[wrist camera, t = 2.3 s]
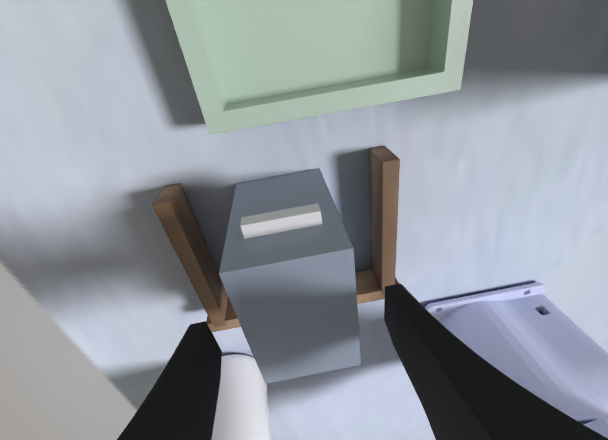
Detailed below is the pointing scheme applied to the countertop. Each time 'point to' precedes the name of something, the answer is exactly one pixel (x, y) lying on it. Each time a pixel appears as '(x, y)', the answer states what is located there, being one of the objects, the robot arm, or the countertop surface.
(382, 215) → the frame
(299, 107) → the tray
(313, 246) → the grey box with handle
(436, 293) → the countertop surface
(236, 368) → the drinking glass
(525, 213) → the countertop surface
